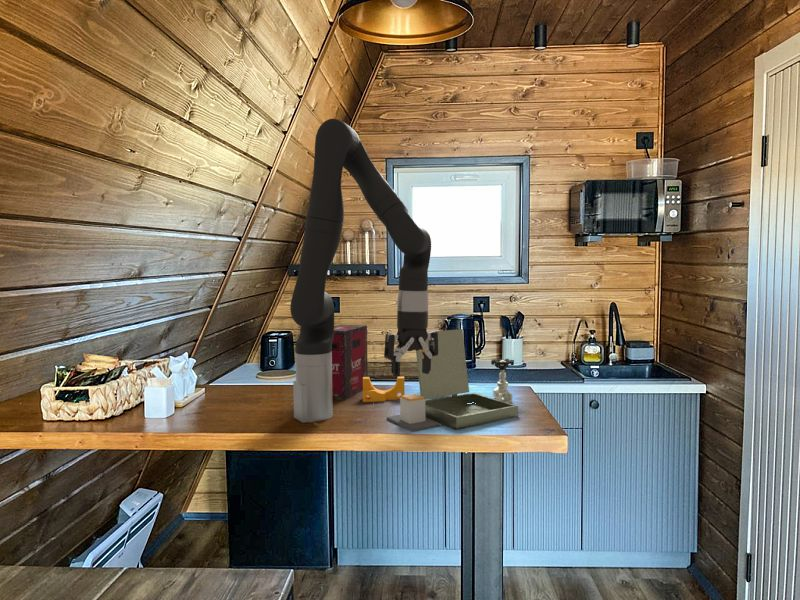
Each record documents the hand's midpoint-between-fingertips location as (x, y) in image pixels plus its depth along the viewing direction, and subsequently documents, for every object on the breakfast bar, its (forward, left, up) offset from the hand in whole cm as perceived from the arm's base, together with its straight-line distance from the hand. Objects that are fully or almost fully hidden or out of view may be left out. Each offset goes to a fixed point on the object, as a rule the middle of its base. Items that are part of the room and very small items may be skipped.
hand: (411, 374), depth 137 cm
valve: (+32, +3, -12) cm, 35 cm away
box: (0, +39, -12) cm, 41 cm away
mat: (0, 0, -12) cm, 12 cm away
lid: (+15, +7, -9) cm, 19 cm away
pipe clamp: (+6, +24, -12) cm, 28 cm away
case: (+15, -2, -12) cm, 20 cm away
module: (0, 0, -11) cm, 11 cm away
